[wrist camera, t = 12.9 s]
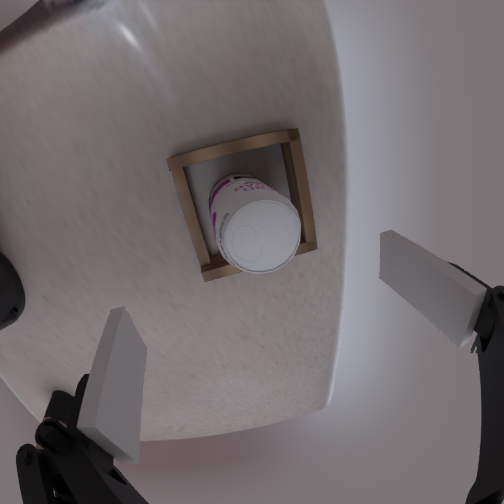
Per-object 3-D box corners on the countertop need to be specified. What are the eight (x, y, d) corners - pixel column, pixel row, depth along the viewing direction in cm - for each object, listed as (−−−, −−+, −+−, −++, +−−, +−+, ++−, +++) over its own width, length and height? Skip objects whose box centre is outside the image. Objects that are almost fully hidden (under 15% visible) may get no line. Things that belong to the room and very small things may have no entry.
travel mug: (80, 412, 49) (68, 477, 31) (54, 402, 46) (37, 465, 28) (77, 395, 46) (62, 466, 28) (49, 385, 44) (28, 453, 26)
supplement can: (221, 238, 39) (237, 292, 26) (199, 186, 36) (202, 214, 22) (273, 217, 40) (315, 259, 26) (255, 164, 36) (292, 178, 23)
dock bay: (203, 269, 41) (204, 282, 37) (169, 157, 34) (166, 159, 30) (307, 239, 42) (317, 249, 39) (287, 129, 35) (298, 128, 31)
